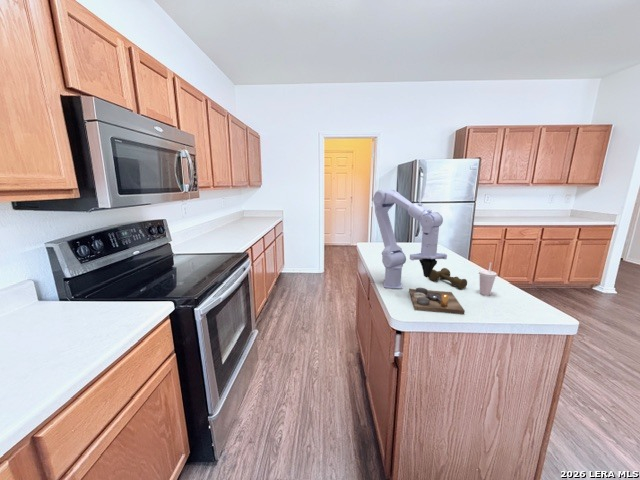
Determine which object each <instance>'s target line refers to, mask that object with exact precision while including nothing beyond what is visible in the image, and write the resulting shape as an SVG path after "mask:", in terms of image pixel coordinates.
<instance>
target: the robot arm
mask: <svg viewBox="0 0 640 480" xmlns="http://www.w3.org/2000/svg"><path fill="white" fill-rule="evenodd" d="M372 201H373V205H374V213H375V216H376V220H377V224H378V227H379V228H378V229H379V231H380V236H381V238H382V243H383V246H384V249H383V250H382V251H381V255H382V257H381V259H382V260H381V262H382V264H383V266H384V269H385V270H384V279H383V288H387V289H397V290H398V289H400V290H402V289H403V285H402V270H403V267H404V264H405V263H406V261H407V256H406V254H405V252H404V251H403V249H402V247H401V246H399V245H398V244H397V240H396V237H395V233H394V230H393V226H392V222H391V219H390V216H389V210H390V209H391V208H392V207H393V206H394V205H395V204H396V205H397V206H399V207H400V208H402V209H404V210H406V211H407V213H408V215H409V216H410V217H411V218H413V219H415V220H417V222H419V223H420V227H421V231H422V233H421V234H422V235H421V236H422V237H421V248H420V252H419V253H412V254H409V260H411V261H417V260H419V263H420V265H421V268H422V273H423V276H424V277H425V278H427V279H428V277H430V274H431V272H432V270H433V269H434V268H435V266H436V265H437V263H438V260H447V259H448V254H446V253H442V252H441V253H438V252H437V251H438V243H439V231H440V227H441V226H442V225H443V222H444V218H443V216H442V215H441V213H440V212H435V211H434V212H433V211H432V210H431V208H429V209H428V208H426V207H425V206H424V205H423V204H422V203H421V202H415V203H413V202H411V201H410V200H408V199H407V198H406V197H404V196H403V195H402V194H400V192H398V191H396V190H395V189H389V190H382V189H381V190H380V189H378V190H377V191H375V192H374V194H373V197H372Z"/></svg>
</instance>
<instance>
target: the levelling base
mask: <svg viewBox="0 0 640 480" xmlns="http://www.w3.org/2000/svg"><path fill="white" fill-rule="evenodd" d="M408 293H409V294H408V295H409V297H410V299H411V300H410V301H411V303H412V305H413V309H414V311H422V312H431V313H432V312H433V313H445V314H455V315H465V312H466V311H465V309H464V308H463V306H462V305H461V303H460V302H459V300H458V299H457V297H456V296H455V295H454V293H453V292H452V291H443V290H432V289H431V290H429V289H426V288H424V287H417V288H416V287H415V288H409V289H408ZM428 293H438V294H440V295H441V296H442V294H447V295H449V298H448V306H447V307H443V306H441V303H440V302H439V301H435V300H431V299H429V298H428Z"/></svg>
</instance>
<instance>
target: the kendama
mask: <svg viewBox="0 0 640 480" xmlns="http://www.w3.org/2000/svg"><path fill="white" fill-rule="evenodd" d="M427 279H429V281H432V282H433V283H434V282H437V281H438V280H439V279H443V280H446V281H448V282H450V283H451V284H450V285H452V286H455V287H457V288H458V289H459V290H464V289H466V288H467V285H468V279H466V278H459V277H458V276H451V271H450V270H449V269H448V268H447V267H443V268H441V269H440V270H437V269H434V268H433V270H432V272H431V274H430V277H427Z"/></svg>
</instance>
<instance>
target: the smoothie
mask: <svg viewBox="0 0 640 480" xmlns="http://www.w3.org/2000/svg"><path fill="white" fill-rule="evenodd" d="M488 265H489V266H488V270H487V269H480V270H479V271H478V274H479V294H480V295H482V296H485V297H486V296H490V295H491V293H492V289H493V286H494V283H495V279H496V277H497V276H498V274H497V272H496V271H493V270H491V267H492V262H489V264H488Z"/></svg>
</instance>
